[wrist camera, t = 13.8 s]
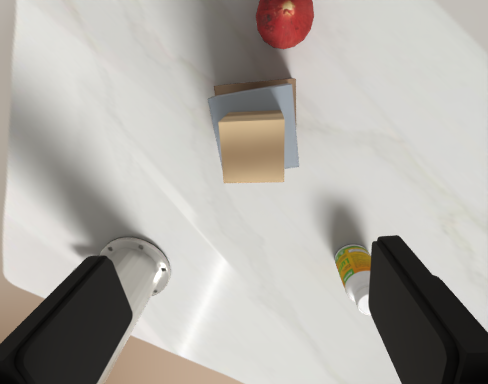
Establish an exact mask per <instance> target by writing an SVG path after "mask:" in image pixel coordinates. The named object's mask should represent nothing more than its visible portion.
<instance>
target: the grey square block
mask: <svg viewBox="0 0 488 384" xmlns="http://www.w3.org/2000/svg"><path fill="white" fill-rule="evenodd" d="M208 103H209V107H210V112H211V117H212V122H213V127H214V131H215V136H216V141H217V146H218V151H219V155H220V160H221V165H222V157H221V146H220V135H219V124H218V122H219V121H220V120H221V119H222V118H223V117H224V116H226V115H227V114H228V113H229V112H246V111H269V110H281V111H282V114H283V116H284V119H285V141H284V169H287V168H295V167H299V158H298V147H297V136H296V124H295V113H294V101H293V90H292V84H290V83H286V84H280V85H274V86H268V87H263V88H257V89H251V90H246V91H240V92H234V93H228V94H223V95H217V96H214V97H212V98H209V99H208ZM222 170H223V168H222Z"/></svg>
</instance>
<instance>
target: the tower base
mask: <svg viewBox="0 0 488 384" xmlns="http://www.w3.org/2000/svg"><path fill="white" fill-rule="evenodd" d="M286 83H290V84H292V90H293V101H294V113H295V124H296V79H293V78H291V79H281V80H270V81H259V82H249V83H238V84H227V85H219V86H214V91H215V96H217V95H223V94H228V93H234V92H240V91H246V90H251V89H257V88H263V87H268V86H274V85H280V84H286Z"/></svg>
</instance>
